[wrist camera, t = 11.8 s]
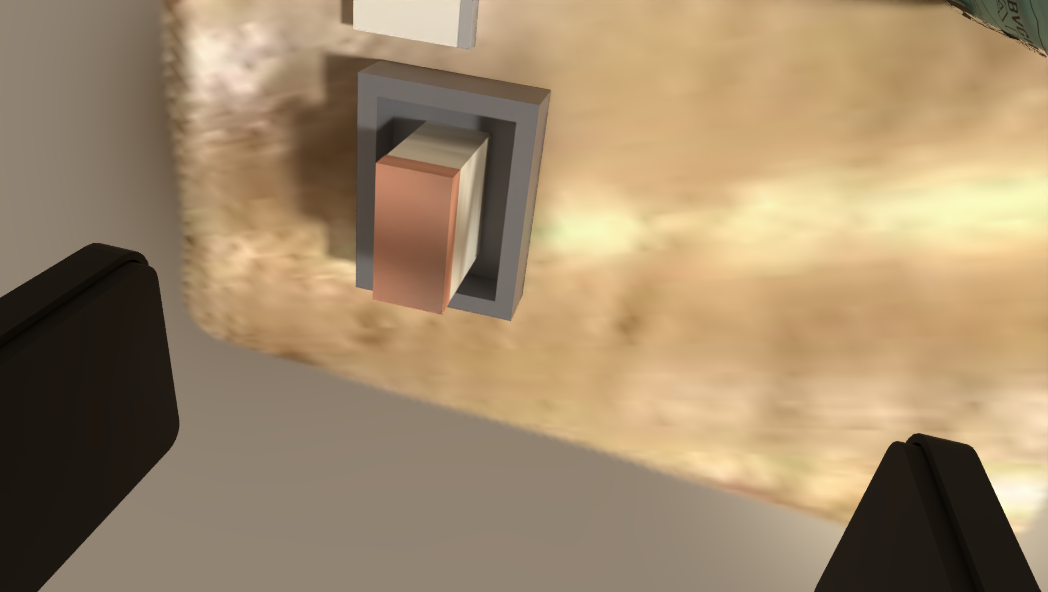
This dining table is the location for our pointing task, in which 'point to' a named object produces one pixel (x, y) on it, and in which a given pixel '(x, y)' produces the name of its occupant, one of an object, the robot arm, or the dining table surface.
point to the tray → (514, 164)
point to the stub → (429, 215)
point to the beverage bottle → (1012, 18)
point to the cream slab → (420, 20)
